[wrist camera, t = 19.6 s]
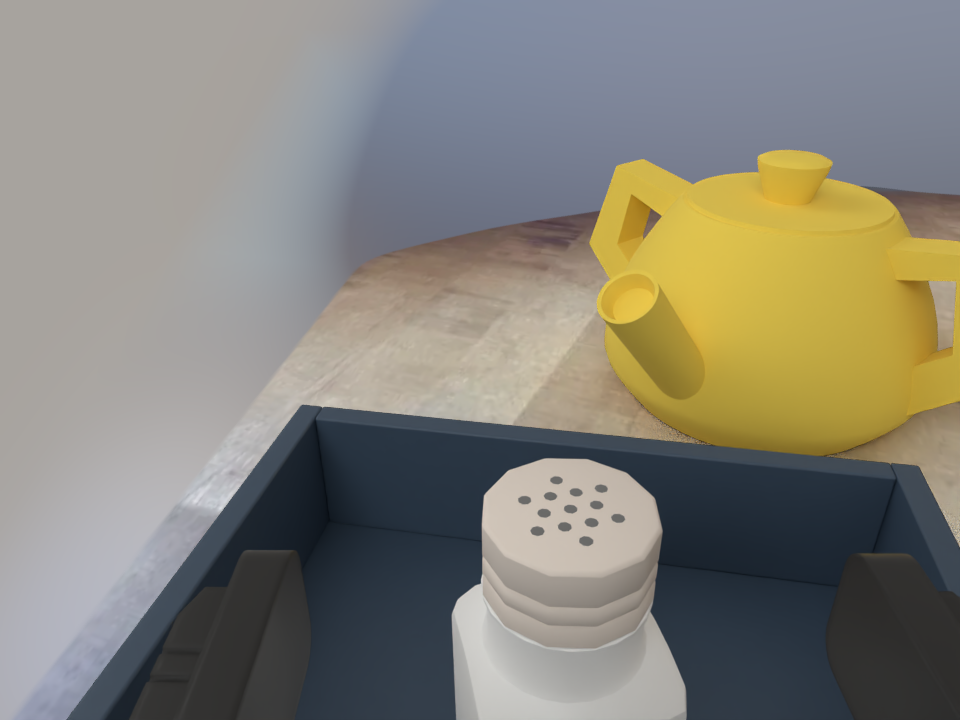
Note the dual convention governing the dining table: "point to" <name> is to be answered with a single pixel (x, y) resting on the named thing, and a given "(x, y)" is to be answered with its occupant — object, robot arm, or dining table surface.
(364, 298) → the dining table surface
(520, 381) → the dining table surface
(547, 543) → the salt shaker
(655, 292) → the teapot
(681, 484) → the tray
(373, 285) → the dining table surface
